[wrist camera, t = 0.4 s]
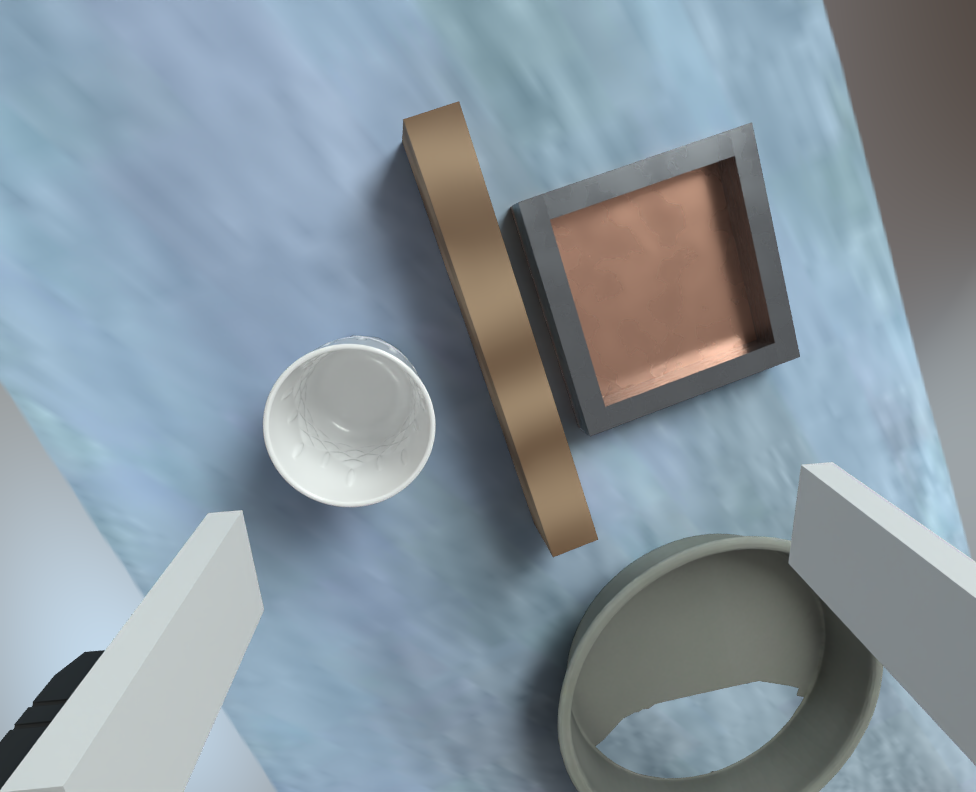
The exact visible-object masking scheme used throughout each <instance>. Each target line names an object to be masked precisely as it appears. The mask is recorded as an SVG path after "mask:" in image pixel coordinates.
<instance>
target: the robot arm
mask: <svg viewBox="0 0 976 792" xmlns="http://www.w3.org/2000/svg"><path fill="white" fill-rule="evenodd" d="M788 563H789V564H790V566H791V567H792V568H793V569H794V570H795V571H796V572H797V573H798V574H799V575H800V576H801V577H802V579H803V580H804V581H805V582H806V583H807V584H808V585H809V586H810V587H811V588H812V589H813V590H814V592H815V593H816V594H817V595H818V596H819V597H820V598H821V599H822V600H823V601H824V602H825V603H826V604H827V606H828V607H829V608H830V609H831V610H832V611H833V612H834V613H835V614H836V615H837V616H838V617H839V619H840V620H841V621H842V622H843V623H844V624H845V625H846V626H847V627H848V628H849V629H850V630H851V632H852V633H853V634H854V635H855V636H856V637H857V638H858V639H859V640H860V641H861V642H862V643H863V645H864V646H865V647H866V648H867V649H868V650H869V651H870V652H871V653H872V654H873V655H874V656H875V657H876V659H877V660H878V661H879V662H880V663H881V664H882V665H883V666H884V667H885V668H886V669H887V670H888V672H889V673H890V674H891V675H892V676H893V677H894V678H895V679H896V680H897V681H898V682H899V683H900V685H901V686H902V687H903V688H904V689H905V690H906V691H907V692H908V693H909V694H910V695H911V696H912V697H913V699H914V700H915V701H916V702H917V703H918V704H919V705H920V706H921V707H922V708H923V709H924V710H925V712H926V713H927V714H928V715H929V716H930V717H931V718H932V719H933V720H934V721H935V722H936V723H937V725H938V726H939V727H940V728H941V729H942V730H943V731H944V732H945V733H946V734H947V735H948V736H949V738H950V739H951V740H952V741H953V742H954V743H955V744H956V745H957V746H958V747H959V748H960V749H961V750H962V752H963V753H964V754H965V755H966V756H967V757H968V758H969V759H970V760H971V761H972V762H973V763H974V765H975V766H976V562H975V561H974V560H972V559H971V558H969V557H968V556H966V555H965V554H964V553H962V552H961V551H959V550H958V549H956V548H955V547H954V546H952V545H951V544H949V543H948V542H946V541H945V540H943V539H942V538H941V537H939V536H938V535H936V534H935V533H933V532H932V531H931V530H929V529H928V528H926V527H925V526H923V525H922V524H920V523H919V522H918V521H916V520H915V519H913V518H912V517H910V516H909V515H908V514H906V513H905V512H903V511H902V510H900V509H899V508H897V507H896V506H895V505H893V504H892V503H890V502H889V501H887V500H886V499H885V498H883V497H882V496H880V495H879V494H877V493H876V492H874V491H873V490H872V489H870V488H869V487H867V486H866V485H864V484H863V483H861V482H860V481H859V480H857V479H856V478H854V477H853V476H851V475H850V474H849V473H847V472H846V471H844V470H843V469H841V468H840V467H838V466H837V465H836V464H834V463H833V462H830V463H818V464H805V465H801V470H800V478H799V486H798V493H797V501H796V509H795V516H794V524H793V532H792V539H791V547H790V555H789V562H788ZM263 611H264V607H263V603H262V598H261V594H260V589H259V584H258V580H257V575H256V571H255V566H254V562H253V557H252V552H251V548H250V543H249V539H248V534H247V530H246V525H245V520H244V516H243V511H242V510H240V511H227V512H215V513H208V514H207V515H206V517H205V518H204V519H203V521H202V522H201V523H200V525H199V526H198V527H197V529H196V530H195V531H194V533H193V534H192V535H191V537H190V538H189V539H188V541H187V542H186V543H185V545H184V546H183V547H182V549H181V550H180V551H179V553H178V554H177V555H176V557H175V558H174V559H173V561H172V562H171V563H170V565H169V566H168V567H167V569H166V570H165V571H164V573H163V574H162V575H161V577H160V578H159V579H158V581H157V582H156V583H155V585H154V586H153V587H152V589H151V590H150V591H149V593H148V594H147V595H146V597H145V598H144V599H143V601H142V602H141V603H140V605H139V606H138V607H137V609H136V610H135V611H134V613H133V614H132V615H131V617H130V618H129V619H128V621H127V622H126V623H125V625H124V626H123V627H122V629H121V630H120V631H119V633H118V634H117V635H116V637H115V638H114V639H113V641H112V642H111V643H110V645H109V646H108V647H107V649H106V650H103V651H91V652H84V653H83V654H82V655H80V656H79V657H78V658H77V659H75V660H74V661H73V662H71V663H70V664H69V665H67V666H66V667H65V668H64V669H62V670H61V671H60V672H58V673H57V674H56V675H55V676H54V677H53V678H52V679H51V681H50V682H49V683H48V684H47V685H46V686H45V688H44V689H43V690H42V692H41V693H40V694H39V695H38V696H37V697H36V699H35V700H34V701H33V706H32V707H28V708H27V710H26V711H25V712H24V713H23V715H22V716H21V717H20V719H18V721H17V722H16V723H15V728H14V729H13V730H10V731H9V732H8V733H7V734H6V735H5V737H4V738H3V739H2V740H1V742H0V792H184V790H185V788H186V785H187V783H188V781H189V778H190V776H191V774H192V772H193V770H194V767H195V765H196V762H197V760H198V758H199V756H200V754H201V751H202V749H203V747H204V745H205V742H206V740H207V738H208V736H209V733H210V731H211V729H212V726H213V724H214V722H215V720H216V717H217V715H218V713H219V711H220V708H221V706H222V704H223V702H224V699H225V697H226V695H227V693H228V690H229V688H230V686H231V683H232V681H233V679H234V677H235V674H236V672H237V670H238V668H239V665H240V663H241V661H242V659H243V656H244V654H245V652H246V650H247V647H248V645H249V643H250V640H251V638H252V636H253V634H254V631H255V629H256V627H257V625H258V622H259V620H260V618H261V616H262V613H263Z"/></svg>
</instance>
